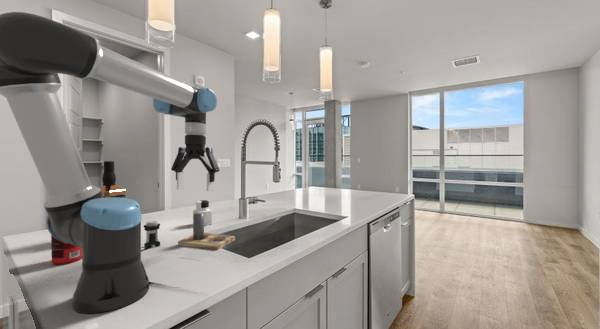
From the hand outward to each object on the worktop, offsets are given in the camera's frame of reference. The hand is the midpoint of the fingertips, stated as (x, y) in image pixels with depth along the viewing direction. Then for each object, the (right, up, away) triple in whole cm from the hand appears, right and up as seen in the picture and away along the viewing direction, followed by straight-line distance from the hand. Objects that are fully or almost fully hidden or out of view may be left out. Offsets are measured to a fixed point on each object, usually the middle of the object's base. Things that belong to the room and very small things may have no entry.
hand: (194, 189), depth 102 cm
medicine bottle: (-9, -21, +32) cm, 39 cm away
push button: (-14, -22, -5) cm, 26 cm away
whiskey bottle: (-41, -21, +11) cm, 47 cm away
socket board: (+5, -21, 0) cm, 22 cm away
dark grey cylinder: (+1, -21, +2) cm, 21 cm away
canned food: (-35, -22, -16) cm, 44 cm away
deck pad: (+6, -22, -12) cm, 26 cm away
